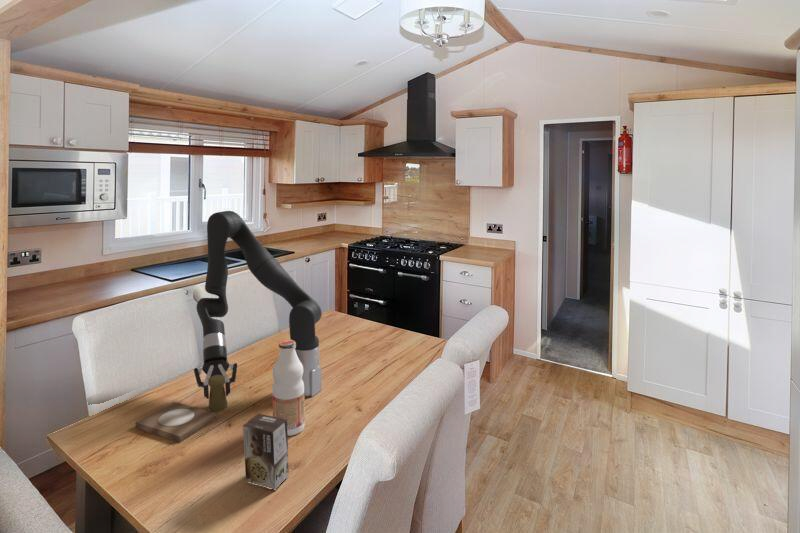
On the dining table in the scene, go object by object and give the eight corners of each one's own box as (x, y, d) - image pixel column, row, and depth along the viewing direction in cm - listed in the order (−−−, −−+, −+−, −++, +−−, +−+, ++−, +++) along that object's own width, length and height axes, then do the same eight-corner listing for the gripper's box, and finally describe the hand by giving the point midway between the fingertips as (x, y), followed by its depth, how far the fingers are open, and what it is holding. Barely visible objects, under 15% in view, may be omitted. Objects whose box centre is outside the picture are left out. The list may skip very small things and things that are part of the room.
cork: (231, 403, 152) (229, 373, 150) (222, 412, 146) (220, 381, 144) (214, 402, 153) (212, 371, 150) (204, 411, 147) (202, 379, 144)
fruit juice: (284, 440, 131) (282, 350, 126) (267, 428, 138) (264, 342, 132) (311, 428, 138) (310, 342, 133) (293, 417, 144) (292, 334, 139)
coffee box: (289, 476, 116) (288, 419, 113) (275, 491, 110) (273, 432, 107) (260, 467, 119) (258, 412, 116) (244, 482, 113) (241, 424, 110)
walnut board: (216, 419, 142) (216, 412, 142) (180, 442, 129) (179, 435, 129) (174, 407, 148) (173, 400, 148) (135, 428, 136) (135, 421, 135)
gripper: (191, 346, 149) (192, 396, 141) (237, 341, 155) (241, 389, 147) (192, 356, 155) (194, 403, 147) (236, 350, 161) (240, 396, 152)
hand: (217, 396), depth 147 cm, fingers open, 5 cm apart
